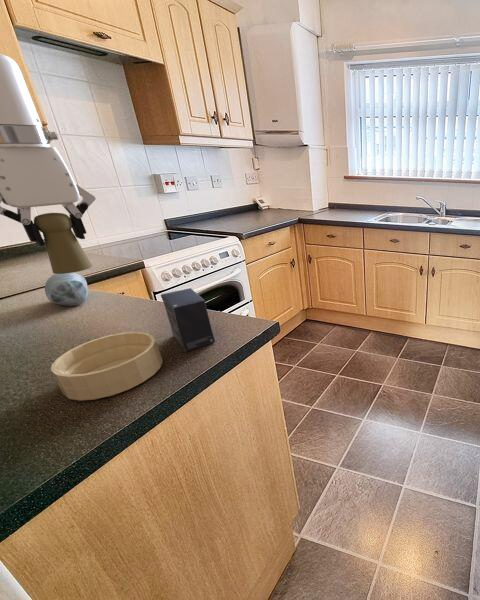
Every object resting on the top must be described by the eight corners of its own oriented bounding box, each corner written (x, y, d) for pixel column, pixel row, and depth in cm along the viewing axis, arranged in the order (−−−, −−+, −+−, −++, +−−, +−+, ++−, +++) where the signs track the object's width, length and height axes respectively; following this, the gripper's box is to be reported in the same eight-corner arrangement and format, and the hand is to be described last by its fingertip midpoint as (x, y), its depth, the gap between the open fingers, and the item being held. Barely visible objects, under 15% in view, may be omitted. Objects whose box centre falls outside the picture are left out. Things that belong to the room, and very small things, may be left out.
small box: (217, 342, 75) (206, 299, 71) (185, 353, 71) (170, 308, 67) (202, 326, 82) (191, 286, 78) (172, 335, 78) (158, 294, 74)
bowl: (48, 412, 55) (33, 385, 53) (82, 365, 67) (71, 341, 65) (155, 388, 61) (145, 362, 58) (168, 348, 73) (160, 326, 71)
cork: (86, 262, 72) (65, 209, 67) (97, 267, 69) (75, 212, 64) (48, 270, 67) (23, 214, 63) (57, 275, 64) (31, 217, 60)
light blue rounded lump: (98, 292, 94) (63, 264, 89) (63, 315, 90) (25, 288, 86) (102, 289, 105) (71, 264, 100) (71, 310, 101) (37, 285, 96)
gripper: (74, 139, 66) (107, 231, 74) (-65, 137, 54) (-7, 248, 61) (87, 138, 63) (121, 235, 70) (-59, 136, 50) (1, 254, 57)
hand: (61, 240), depth 65 cm, fingers closed on cork, 5 cm apart
